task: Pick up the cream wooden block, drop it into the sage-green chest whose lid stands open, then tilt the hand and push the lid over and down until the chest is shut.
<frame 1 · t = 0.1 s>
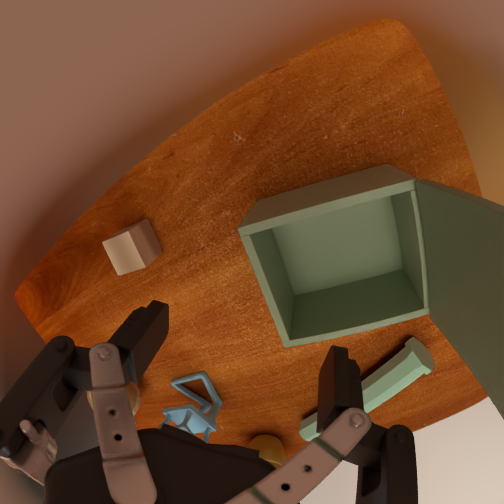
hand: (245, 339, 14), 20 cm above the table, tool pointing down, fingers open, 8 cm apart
lid: (486, 302, 13), point 17 cm above the table, hinge at 100.0°
chest: (338, 236, 31), on the table
chair: (202, 389, 46), on the table
green rod: (356, 388, 40), on the table
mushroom: (121, 378, 51), on the table
flower pot: (267, 439, 50), on the table
block: (141, 239, 36), on the table
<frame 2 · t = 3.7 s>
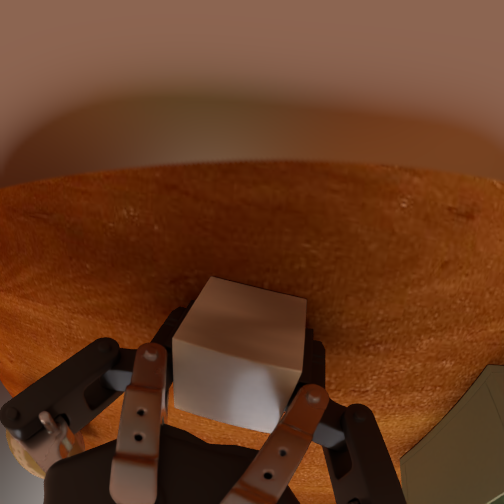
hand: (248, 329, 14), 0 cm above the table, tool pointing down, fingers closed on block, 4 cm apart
chest: (496, 418, 15), on the table
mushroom: (55, 407, 27), on the table
block: (250, 325, 15), on the table, touching gripper
when the fingers open (7 cm above the table, at t = 10.4 s): block drops 6 cm, resting on chest.
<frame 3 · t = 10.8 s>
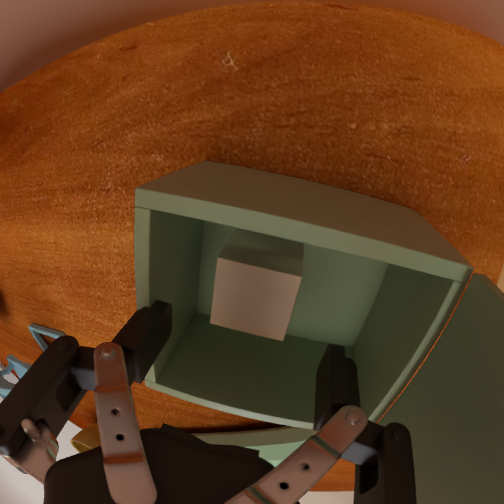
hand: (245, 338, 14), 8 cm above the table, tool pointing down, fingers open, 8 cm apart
chest: (292, 267, 21), on the table
chair: (58, 349, 33), on the table
green rod: (226, 433, 32), on the table
flower pot: (113, 428, 40), on the table
block: (264, 266, 21), point 1 cm above the table, touching chest
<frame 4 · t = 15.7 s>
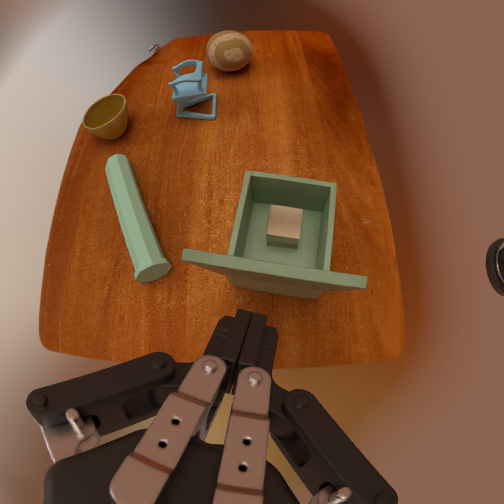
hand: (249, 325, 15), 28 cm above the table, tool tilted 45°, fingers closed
lid: (275, 275, 27), point 17 cm above the table, hinge at 100.0°
chest: (281, 246, 45), on the table
chair: (196, 110, 56), on the table
green rod: (137, 215, 49), on the table
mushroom: (230, 63, 61), on the table
flower pot: (116, 131, 56), on the table
block: (283, 233, 45), point 1 cm above the table, touching chest
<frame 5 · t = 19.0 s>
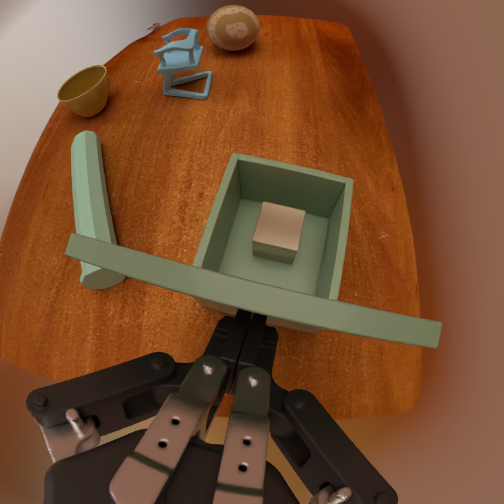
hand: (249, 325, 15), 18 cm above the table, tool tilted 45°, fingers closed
lid: (254, 304, 16), point 17 cm above the table, hinge at 97.9°, touching gripper
chest: (272, 259, 34), on the table
chair: (187, 88, 45), on the table
green rod: (98, 204, 38), on the table
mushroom: (234, 43, 51), on the table
flower pot: (95, 108, 45), on the table
block: (276, 242, 34), point 1 cm above the table, touching chest
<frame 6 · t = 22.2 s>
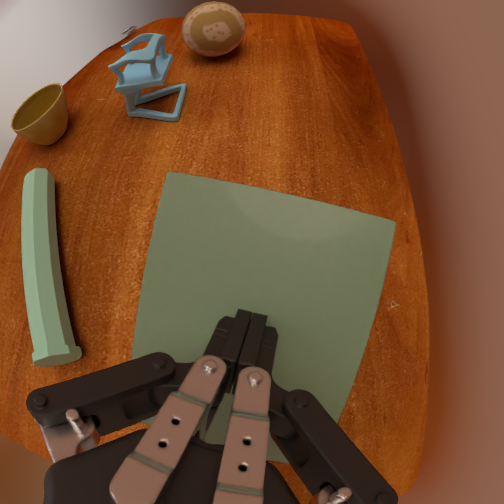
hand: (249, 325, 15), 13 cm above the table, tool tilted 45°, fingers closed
lid: (247, 337, 15), point 12 cm above the table, hinge at 20.0°, touching gripper
chair: (156, 107, 38), on the table
green rod: (52, 260, 30), on the table
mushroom: (216, 47, 43), on the table
flower pot: (55, 133, 37), on the table
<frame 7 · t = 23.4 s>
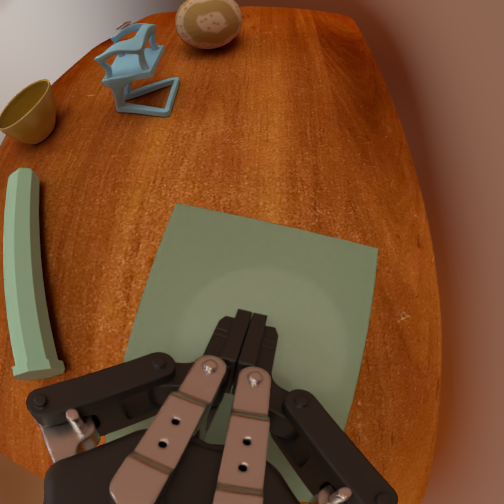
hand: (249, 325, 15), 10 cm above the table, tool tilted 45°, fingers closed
lid: (242, 357, 15), point 9 cm above the table, hinge at -0.2°, touching chest, gripper
chair: (147, 102, 35), on the table
green rod: (36, 266, 27), on the table
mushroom: (212, 40, 40), on the table
flower pot: (43, 132, 34), on the table
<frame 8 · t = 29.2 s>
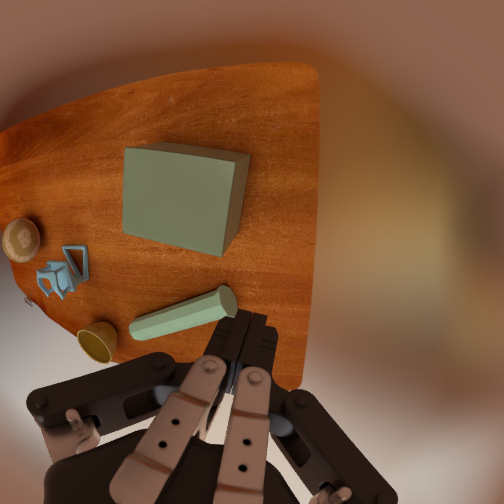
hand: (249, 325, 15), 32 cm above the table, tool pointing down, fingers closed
lid: (172, 199, 37), point 9 cm above the table, hinge at -0.2°, touching chest
chest: (199, 185, 46), on the table
chair: (80, 261, 58), on the table
green rod: (180, 310, 57), on the table
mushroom: (31, 232, 58), on the table
flower pot: (108, 329, 64), on the table
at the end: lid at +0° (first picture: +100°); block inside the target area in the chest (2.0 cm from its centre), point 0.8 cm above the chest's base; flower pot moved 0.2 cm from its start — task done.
